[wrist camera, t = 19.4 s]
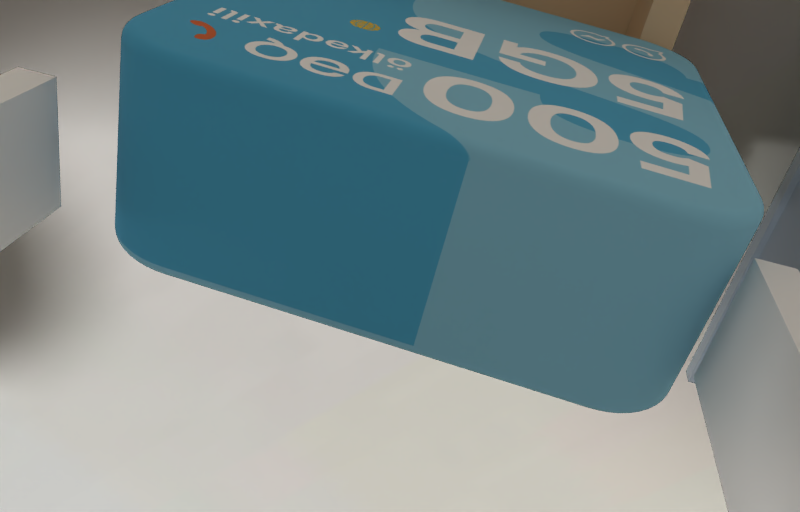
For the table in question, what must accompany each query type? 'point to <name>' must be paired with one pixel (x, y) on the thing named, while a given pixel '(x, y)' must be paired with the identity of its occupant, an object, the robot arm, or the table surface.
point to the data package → (438, 182)
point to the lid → (764, 249)
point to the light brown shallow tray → (621, 16)
